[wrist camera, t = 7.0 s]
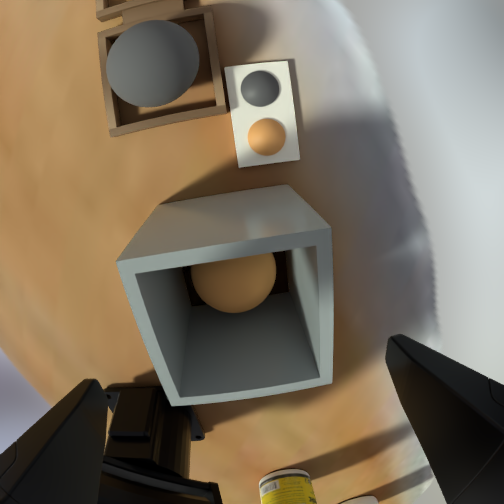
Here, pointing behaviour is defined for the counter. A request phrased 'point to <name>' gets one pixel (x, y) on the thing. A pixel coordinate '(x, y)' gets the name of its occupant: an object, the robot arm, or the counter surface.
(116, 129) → the holder
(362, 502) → the pill bottle
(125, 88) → the gray ball
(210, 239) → the grey open box
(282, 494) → the supplement bottle
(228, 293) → the orange ball
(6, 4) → the counter surface
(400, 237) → the counter surface
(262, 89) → the card
